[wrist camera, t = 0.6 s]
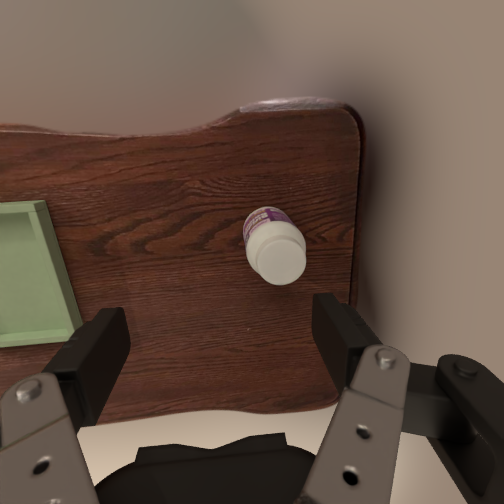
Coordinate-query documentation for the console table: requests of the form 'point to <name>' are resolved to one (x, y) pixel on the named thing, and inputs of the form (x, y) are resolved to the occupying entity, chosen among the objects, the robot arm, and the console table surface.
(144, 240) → the console table surface
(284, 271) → the pill bottle
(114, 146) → the console table surface
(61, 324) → the tray
